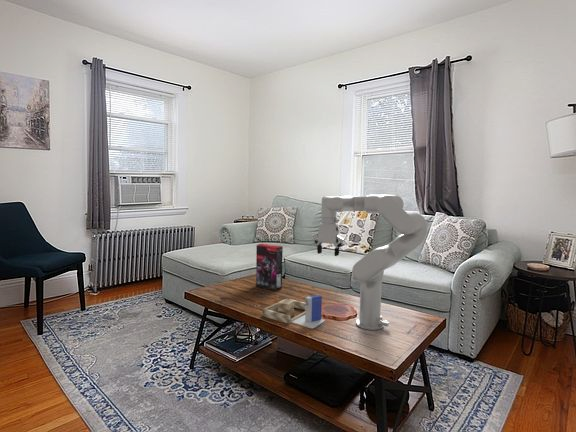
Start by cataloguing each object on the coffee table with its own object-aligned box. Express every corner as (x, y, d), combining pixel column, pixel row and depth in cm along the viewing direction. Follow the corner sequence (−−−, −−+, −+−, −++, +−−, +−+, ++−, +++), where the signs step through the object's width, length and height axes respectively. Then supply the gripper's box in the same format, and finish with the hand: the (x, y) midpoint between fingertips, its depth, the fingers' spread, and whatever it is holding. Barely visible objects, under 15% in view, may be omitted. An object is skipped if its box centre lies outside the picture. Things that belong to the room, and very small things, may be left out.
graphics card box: (255, 286, 224) (255, 244, 222) (262, 284, 230) (262, 243, 228) (276, 291, 215) (276, 247, 212) (282, 288, 220) (283, 246, 218)
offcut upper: (293, 308, 173) (293, 300, 173) (288, 312, 168) (288, 304, 167) (283, 307, 175) (283, 299, 175) (278, 310, 170) (278, 302, 170)
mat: (325, 320, 168) (325, 320, 168) (312, 328, 158) (312, 328, 158) (304, 315, 175) (304, 314, 175) (291, 322, 165) (291, 321, 165)
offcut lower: (294, 317, 172) (294, 309, 172) (287, 321, 168) (287, 313, 167) (284, 314, 176) (284, 307, 176) (277, 318, 171) (277, 310, 171)
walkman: (317, 317, 171) (318, 293, 170) (321, 319, 169) (321, 295, 168) (304, 320, 167) (305, 296, 166) (307, 322, 164) (308, 297, 163)
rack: (312, 311, 181) (312, 304, 181) (289, 323, 164) (289, 316, 164) (287, 304, 190) (287, 298, 190) (262, 316, 173) (262, 309, 173)
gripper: (347, 221, 173) (346, 255, 175) (317, 219, 183) (316, 251, 185) (340, 222, 167) (340, 257, 169) (310, 220, 177) (309, 253, 179)
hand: (327, 254), depth 177 cm, fingers open, 9 cm apart
